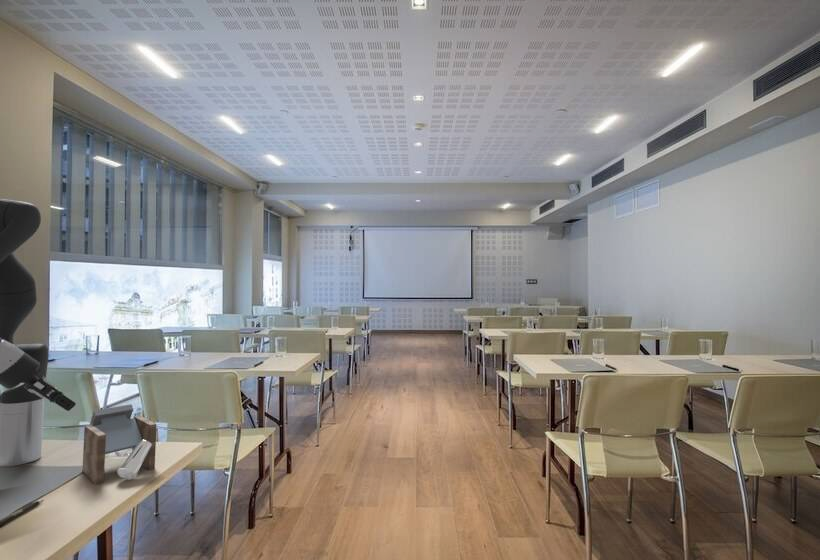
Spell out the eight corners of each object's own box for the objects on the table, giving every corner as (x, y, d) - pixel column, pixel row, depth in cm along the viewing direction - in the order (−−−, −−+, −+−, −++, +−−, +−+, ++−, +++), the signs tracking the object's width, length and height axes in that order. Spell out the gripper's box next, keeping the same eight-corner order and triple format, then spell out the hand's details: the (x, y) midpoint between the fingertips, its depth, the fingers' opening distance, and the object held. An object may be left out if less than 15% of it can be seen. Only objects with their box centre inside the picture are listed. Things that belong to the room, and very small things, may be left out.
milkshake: (160, 445, 108) (136, 483, 101) (148, 448, 110) (124, 485, 103) (145, 437, 106) (120, 475, 98) (134, 440, 108) (109, 478, 101)
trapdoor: (88, 426, 113) (92, 410, 111) (127, 418, 120) (132, 404, 118) (98, 464, 105) (103, 448, 104) (139, 454, 113) (144, 439, 111)
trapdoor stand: (82, 470, 108) (84, 425, 109) (137, 456, 118) (139, 415, 119) (96, 484, 100) (98, 435, 101) (154, 468, 110) (156, 423, 111)
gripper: (28, 353, 90) (89, 396, 98) (17, 348, 98) (74, 388, 107) (-7, 381, 85) (60, 423, 93) (-16, 373, 94) (47, 412, 102)
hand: (68, 404), depth 100 cm, fingers open, 8 cm apart
